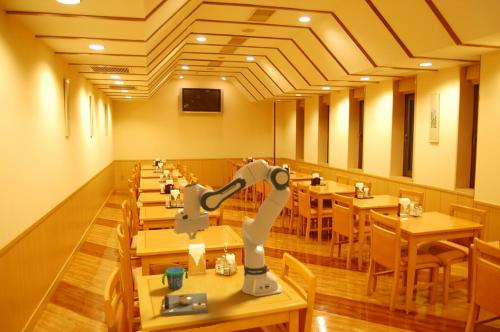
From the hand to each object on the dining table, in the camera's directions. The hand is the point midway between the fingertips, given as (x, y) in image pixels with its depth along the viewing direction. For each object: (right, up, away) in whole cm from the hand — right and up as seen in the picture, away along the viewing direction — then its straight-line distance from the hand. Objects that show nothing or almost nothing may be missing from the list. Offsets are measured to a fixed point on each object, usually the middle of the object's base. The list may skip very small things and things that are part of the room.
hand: (192, 239), depth 216 cm
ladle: (-5, -31, -13) cm, 34 cm away
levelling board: (-2, -32, -9) cm, 34 cm away
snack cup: (-12, -30, +14) cm, 35 cm away
